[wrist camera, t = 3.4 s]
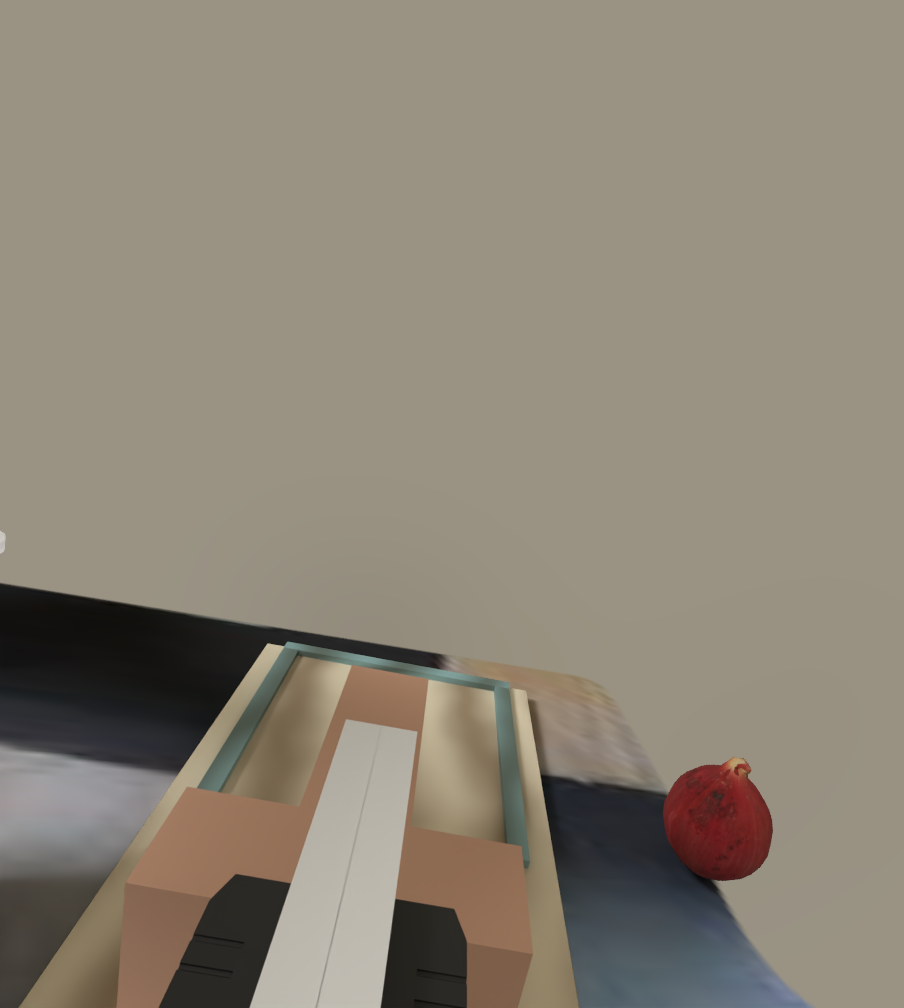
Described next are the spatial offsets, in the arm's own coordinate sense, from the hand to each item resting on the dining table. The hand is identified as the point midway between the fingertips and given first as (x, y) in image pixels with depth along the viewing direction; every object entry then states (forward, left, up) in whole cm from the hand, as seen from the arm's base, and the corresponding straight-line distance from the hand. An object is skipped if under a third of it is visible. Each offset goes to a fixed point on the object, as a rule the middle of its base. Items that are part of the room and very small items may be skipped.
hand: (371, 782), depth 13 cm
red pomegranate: (+4, +28, -19) cm, 34 cm away
